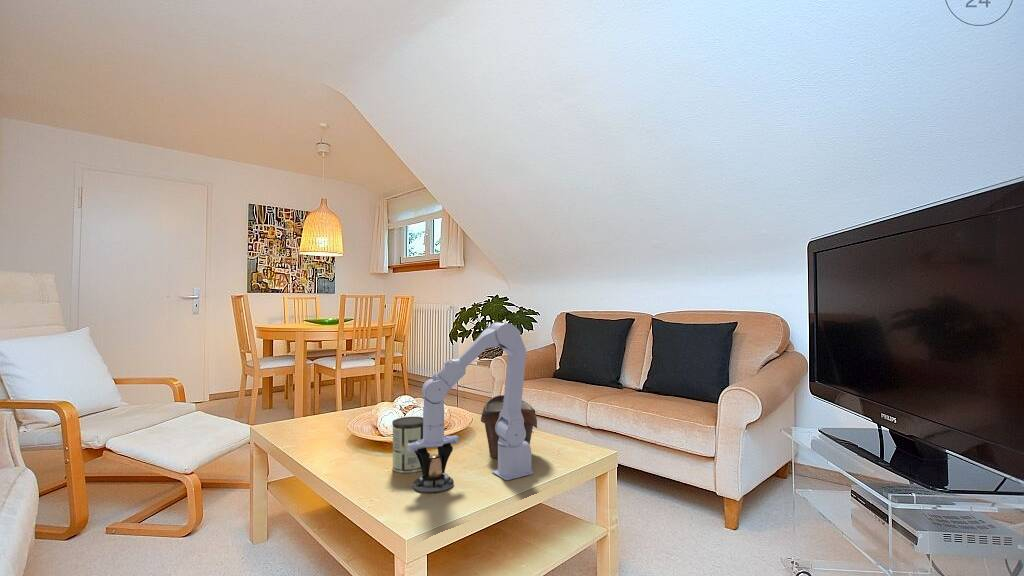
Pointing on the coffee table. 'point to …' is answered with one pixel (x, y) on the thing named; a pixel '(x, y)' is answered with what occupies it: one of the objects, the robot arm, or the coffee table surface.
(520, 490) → the coffee table surface
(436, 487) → the flange
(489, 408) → the brown trash bin
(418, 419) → the coffee can
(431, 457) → the pipe stub
